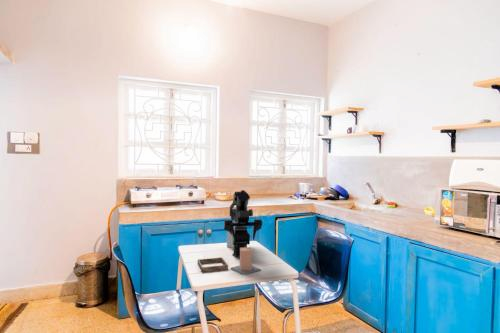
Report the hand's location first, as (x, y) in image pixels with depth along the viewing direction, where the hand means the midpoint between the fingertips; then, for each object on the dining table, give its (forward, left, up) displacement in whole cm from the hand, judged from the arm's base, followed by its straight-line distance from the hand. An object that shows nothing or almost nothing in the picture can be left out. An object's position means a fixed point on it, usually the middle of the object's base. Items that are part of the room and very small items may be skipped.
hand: (244, 240), depth 152 cm
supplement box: (-16, -29, -13) cm, 36 cm away
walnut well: (+13, -7, -12) cm, 19 cm away
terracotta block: (+3, +6, -12) cm, 13 cm away
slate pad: (+3, +6, -12) cm, 14 cm away
